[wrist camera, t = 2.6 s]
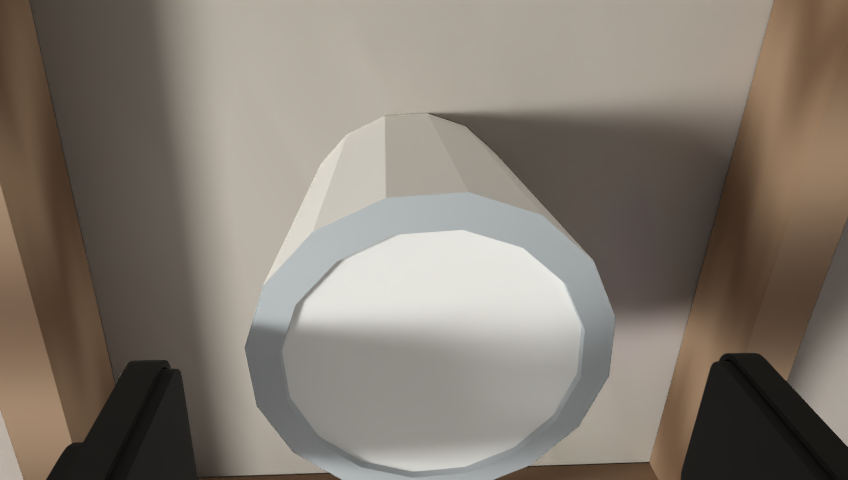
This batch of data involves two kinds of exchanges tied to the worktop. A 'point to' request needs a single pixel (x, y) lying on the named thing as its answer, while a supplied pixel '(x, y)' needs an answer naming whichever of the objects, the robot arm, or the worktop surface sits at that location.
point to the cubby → (702, 346)
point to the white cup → (426, 313)
